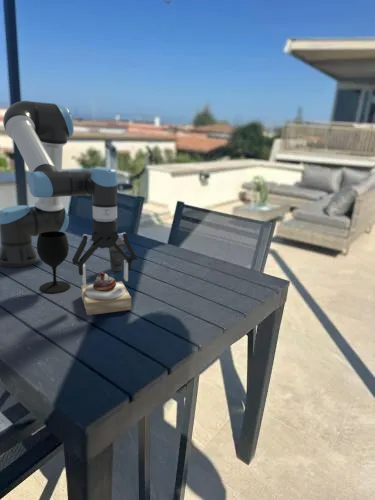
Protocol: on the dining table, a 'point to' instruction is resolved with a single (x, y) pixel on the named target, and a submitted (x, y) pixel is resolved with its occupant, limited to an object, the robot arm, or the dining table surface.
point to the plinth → (105, 299)
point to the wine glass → (53, 257)
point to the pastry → (104, 282)
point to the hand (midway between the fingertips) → (105, 281)
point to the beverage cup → (116, 256)
